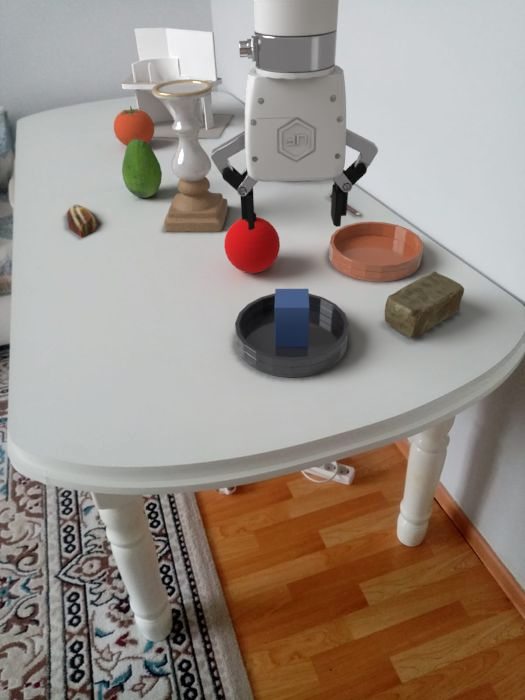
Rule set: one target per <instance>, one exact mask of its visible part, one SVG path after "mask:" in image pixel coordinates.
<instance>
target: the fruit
mask: <svg viewBox="0 0 525 700" xmlns="http://www.w3.org/2000/svg"><path fill="white" fill-rule="evenodd" d="M124 152H125V153H124V156H123V159H122V168H121V174H122V180H123V183H124V185H125V187H126V188H127V190H128V191H129V192H130V193H131V194H132V195H133V196H135V197H137V198H143V199H145V198H146V199H147V198H150V197H152V196H154V195H155V194H156V193H157V192H158V191H159V189H160V187H161V184H162V176H163V173H162V167H161V165H160V162H159V160H158V158H157V156H156V154H155V152H154V151H153V149H152V148H151V145H150V144H149V143H146V142H145V141H143V140H140V139H133V140H131V141H130V143H129V144H128V145H127V146H126V148H125V151H124Z"/></svg>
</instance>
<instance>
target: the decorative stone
mask: <svg viewBox="0 0 525 700" xmlns="http://www.w3.org/2000/svg"><path fill="white" fill-rule="evenodd" d="M66 217H67V225H68V229H69V230H70V231H72V232H73V233H74V234H76V235H77V236H79V237H80V238H81V239H82V238H84V237H86V236H89V235H90V234H93V233H94V232H95V230H96V229H97V227H99V221H98V219H97V218H96V217H95V216H94V215H93V214H92V212H91V211H90V210H89V209H88V208H87V207H86V206H82V205H79V204H76V203H74V204H73V205H72V206H71V207H70V208H69V209H68V210H67V211H66Z"/></svg>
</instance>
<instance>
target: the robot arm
mask: <svg viewBox="0 0 525 700" xmlns="http://www.w3.org/2000/svg"><path fill="white" fill-rule="evenodd" d="M252 2H253V28H254V31H253V32H254V33H253V34H254V35H251V36H250V37H251V38H246V40H238V47H239V48H238V49H239V58H247V59H249V60H251V61H252V62H253V63H254V62H255V66H254V67H252V68H250V69H249V70H248V74H247V78H246V87H245V99H244V100H245V101H244V102H245V103H244V131H242V132H240V133H239V134H237V135H235V136H233V137H232V138H230V139H229V140H227V141H225V142H223V143H222V144H220V145H218V146H216V147H215V148H213V149H212V151H211V154H210V159H211V160H212V162H213V164H214V166H215V167H216V168H217V170H218V172H219V173H220V174H221V177H222V179H223V180H224V181H225V182H226V183H227V184H228V185H229V186H230V187H232V188H233V190H235V191H236V192H237V194H238V195H239V197H240V211H241V218H242V220H248V229H249V230H253V229H255V222H254V212H255V200H254V199H255V198H254V187H255V186H256V184H257V183H258V182H264V183H270V182H271V183H272V182H273V183H274V182H277V183H278V182H299V181H300V182H302V181H323V180H331V179H332V181H334V182H333V184H332V187H331V193H332V198H331V201H330V202H331V203H330V218H331V220H332V224H333V226H335V227H336V228H337V227H341V225H342V217H345V216H347V214H348V213H347V211H348V209H347V204H348V201H349V200H348V198H349V192H351V191H352V189H353V186H354V185H355V184H356V183H357V182H358V181H360V180H361V178H363V176H365V175H366V173H367V171H368V168H369V167H370V166H371V164H372V162H373V161H374V159H375V158H376V156H377V154H378V152H379V149H378V147H377V145H376V143H374V142H373V141H371V140H369V139H367V138H365V137H363V136H362V135H359V134H358V133H356V132H354V131H352V130H350V129H348V128H347V93H346V81H345V73H344V69H342V68H341V66H339V65H337V64H336V56H337V55H336V54H337V38H338V37H337V35H338V34H337V33H338V18H339V0H253V1H252ZM346 146H347V147H349V148H351V149H353V150H355V151H356V152H358V156H357V159H356V160H354V161H353V162H352V164H350V165H349V166H348V167H347V168H346V169H345V164H346V149H347V147H346ZM243 150H244V155H245V157H244V158H245V166H246V167H245V169H244V170H243V172H242V173H240V172H239V171H238V170H237V169H236V168H235V167H234V166H233V165H231V163H230V160H229V158H231V157H232V156H235V155H236V154H238V153H239V152H241V151H243Z"/></svg>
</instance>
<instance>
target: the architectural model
mask: <svg viewBox="0 0 525 700" xmlns="http://www.w3.org/2000/svg"><path fill="white" fill-rule="evenodd" d="M133 30H134V36H135V41H136V48H137V54H138V60H137V61H135V62H132V63H131V65H130V66H131V72H132V74H130V75H129V76H128V77H127V78H126V79H124V80H123V81H122V82H121V88H122V90H133V91H134V98H135V102H136V104H135V105H136V109H137V108H140V109H139V110H142V111H144V112H146V113H147V114H148V115H149V116H150V117H151V119H152V121H153V123H154V135H153V137H152V138H172V139H173V138H177V139H179V138H178V136H177V134H176V132H175V131H174V130H173V129H172V125H173V123H174V121H175V116H176V115H175V111H174V109H173V108H172V106H171V105H170V104H169V103H168V100H164V99H159V98H156V97H155V96H154V95H153V93H152V88H153V87H154V86H155V85H157V84H160V83H163V82H168V81H174V80H203V81H207V82H209V83H211V84H212V86H213V88H214V87H217V86H221V85H222V84H223V78H222V77H218V72H217V71H218V69H217V68H218V67H217V58H216V57H217V55H216V45H215V44H216V43H215V32H214V31H207V30H206V31H204V30H196V29H195V30H194V29H182V28H174V27H173V28H172V27H134V28H133ZM202 106H203V107H202ZM203 113H204V114H203ZM195 114H196V117H197V119H198V120H199V122H200V123H201V124H202V127H201V129H199V134H198V139H219V137H220V136H221V135H222V133H223V131H224V130H225V128H226V127H227V125H228V123H229V122H230V120H231V119H232V116H233V115H232V114H214V111H213V99H212V92H211V93H210V94H209V95H207V96H204V97H201V98H200V99H199V103H198V105H197V106H196V111H195Z"/></svg>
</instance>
